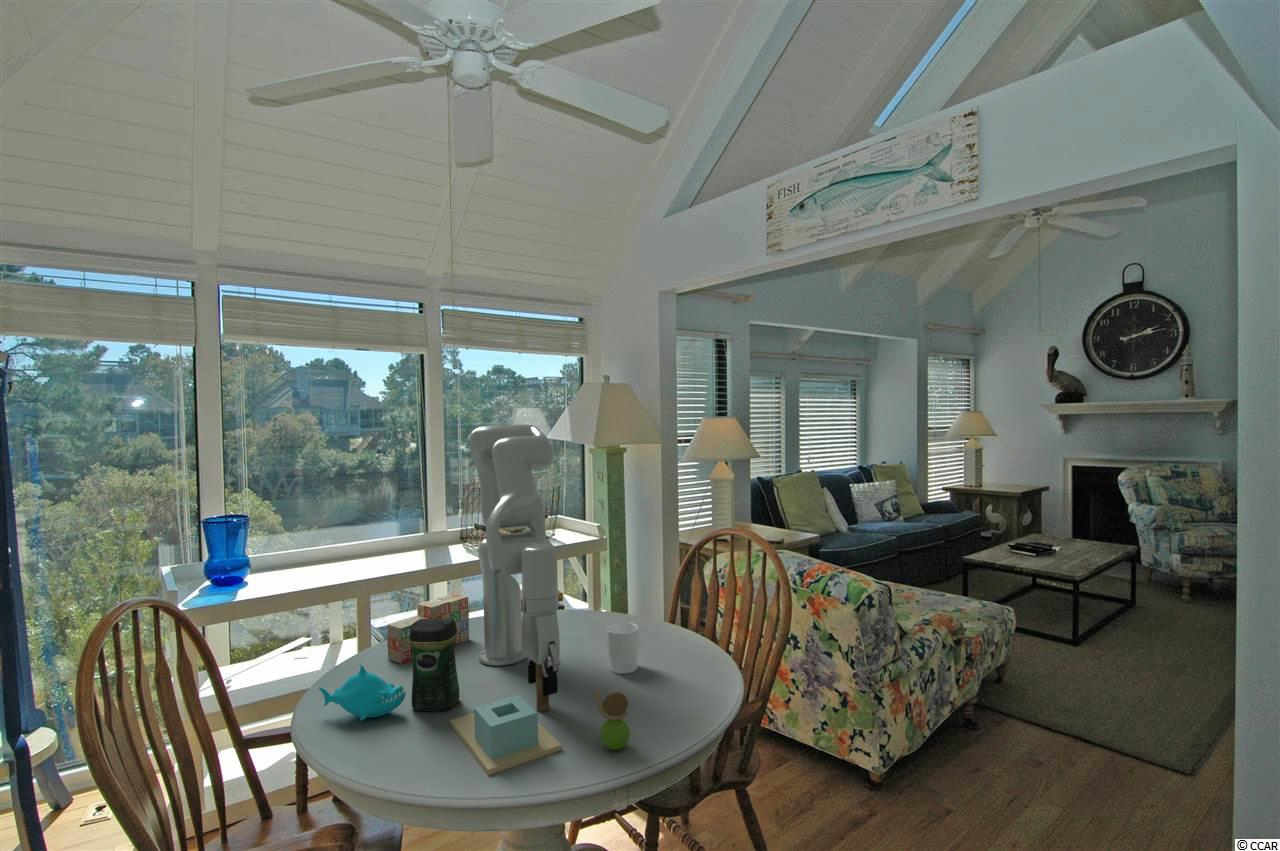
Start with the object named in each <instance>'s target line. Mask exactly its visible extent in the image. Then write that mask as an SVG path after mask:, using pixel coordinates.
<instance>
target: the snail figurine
mask: <svg viewBox="0 0 1280 851" xmlns="http://www.w3.org/2000/svg"><path fill="white" fill-rule="evenodd" d="M597 687H598V686H597V684H596V683H594V685H593V688H594V692H593V694H594V698H595V703H596V708H597V710H598V712H599V714H600V715H601V717H603V718H604V719H607V720H605V722H604V723H603V724H602V726H601V727H600V732H599V733H600V739H601V742H602V744H603V745H604V747H606V748H607V749H609V750H611V751H617V750H621V749H623V748H624V747H625V746H626V745H627V744H628V742H629V740H630V736H631V735H630V734H631V733H630V726H629V725H628V723H627V722H626V721H625V720H624V719H625V718H626V717H627V716H628V715H629V712H628V711H627V710H628V706H629V700H628V699H627V696H626V695H625V694H624V693H622V692H619V691H614V692H611V693H609V694H608V695H606V696H605V697H604V700H603V699H602V695H603V693H602V690H596V689H597Z"/></svg>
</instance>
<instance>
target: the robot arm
mask: <svg viewBox="0 0 1280 851" xmlns="http://www.w3.org/2000/svg"><path fill="white" fill-rule="evenodd" d="M469 451H470V455H471V458H472V461H473V463H474V466H475V468H476V471H477V475H478V478H479V490H480V504H481V505H480V506H481V516H482V518H481V519H482V523H483V524H484V527H485V538H484V539H483V540H482V541H481V542H480V543H479V546H478V549H477V550H478V559H479V566H480V570H481V578H482V594H483V595H482V597H483V598H482V599H483V623H484V625H483V627H484V628H483V630H484V631H483V632H484V649H482V650H481V651H480V652H479V654H478V660H479V662H480V663H482V664H484V665H486V666H495V667H497V666H498V667H499V666H501V667H502V666H508V665H509V666H510V665H513V664H516V663H519V662H522V661H524V660H525V659H526V664H527V683H528V684H530V685H532V684H535V683H536V663H537V664H542V669H543V674H544V676H542V694H543V696H548V695H549V696H550V695H553V694H554V695H555V694H557V693H558V691H559V690H558V675H559V669H560V666H561V664H562V662H561V660H560V659H561V658H560V655H561V652H560V651H561V647H560V645H561V644H560V631H559V629H560V628H559V620H558V613H557V612H558V611H559V584H558V582H559V580H558V576H559V574H558V551H557V548H556V547H555V546H554V544H553V543H552V542H551V540H549V539H548V538H547V534H546V532H547V531H546V521H545V518H546V516H545V508H544V503H543V500H542V497H541V496H540V494H539V493H538V492H537V490H536V486H535V481H534V480H535V479H534V477H533V471H541V470H548V469H549V468H551V466H552V464H553V460H554V458H553V457H554V454H553V453H554V452H553V447H552V444H551V442H550V440H549V439H548V437H547V435H545V433H544V432H543V431H541V430H540V429H539V428H538V427H537V426H535V425H533V424H495V425H494V424H492V425H483V426H479V427H476V428H475V429H473V431H472V432H471V433H470V436H469ZM517 528H524V529H525V532H524V531H523V532H516V533H515V532H514V533H505V534H501V533H500V530H507V529H509V530H510V529H517ZM520 574H521V585H520V583H519V582H518V581H517V579H516V578H515V577H514V576H513V575H520ZM547 657H548V658H550V659H548V660H546V658H547ZM545 660H546V661H545ZM547 663H548V664H550V665H548V669H547V665H546V664H547Z"/></svg>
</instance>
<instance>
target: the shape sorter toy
mask: <svg viewBox="0 0 1280 851" xmlns="http://www.w3.org/2000/svg"><path fill="white" fill-rule="evenodd" d="M538 713H539V712H538V711H537V709H535V708H533V707H532V705H530V704H529V703H528V702H527V701H526V700H525V699H524V698H523V697H522V696H520V694H518V695H517V694H516V695H514V696H511V697H507V698H504V699H500V700H497V701H493V702H489V703H486V704H482V705H478V706H476V707H473V712H472V713H469V714H466V715H463V716H459V717H455V718H452V719H450V726H451V727H452V728H453V730H454V731H455V732H456V734H457V736H459V737H460V739H461V740H462V742H463V743H464V745H465V746H466V747H467V749H468V750H469V751H470V752H471V754H472V755H473V757H474V758H475V760H476V761H477V762H478V763H479V765H480V766H481V768H482V769H483V771H484V772H485V773H486V774H487V776H491V775H493V774H496V773H499V772H502V771H505V770H508V769H510V768H511V769H512V768H513V767H517V766H520V765H522V764H526V763H529V762H530V761H531V762H532V761H535V760H537V759H540V758H543V757H545V756H548V755H552V754H553V753H557V752H560V751H562V750H563V749H562V748H563V746H562V743H560V742H559V740H557V739H556V738H555V737H554V736H553V734H551V733H550V732H549V731H548V730H547V729H546V728H545V727H544V726H543V725H542V724H541V723H540V722H539V717H538V716H539V714H538Z"/></svg>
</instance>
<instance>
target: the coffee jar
mask: <svg viewBox="0 0 1280 851" xmlns="http://www.w3.org/2000/svg"><path fill="white" fill-rule="evenodd" d="M456 639H457V628H456V623H455V620H454V619H453V618H451V619H419V620H417V621H416V622H414V623H413V624H412V625H411V629H410V638H409V643H410V646H411V649H412V653H413V660H412V683H411V686H412V687H411V708H413V710H415V711H419V712H421V711H422V712H424V711H425V712H439V711H446V710H448V709H450V708H451V707H454V706H455V705H456V704H457V703H458V702H459V699H460V697H461V696H460V687H459V686H460V684H459V680H458V672H457V664H456V654H455V653H456V652H455V649H456V648H455V645H456V644H455V642H456Z"/></svg>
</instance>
